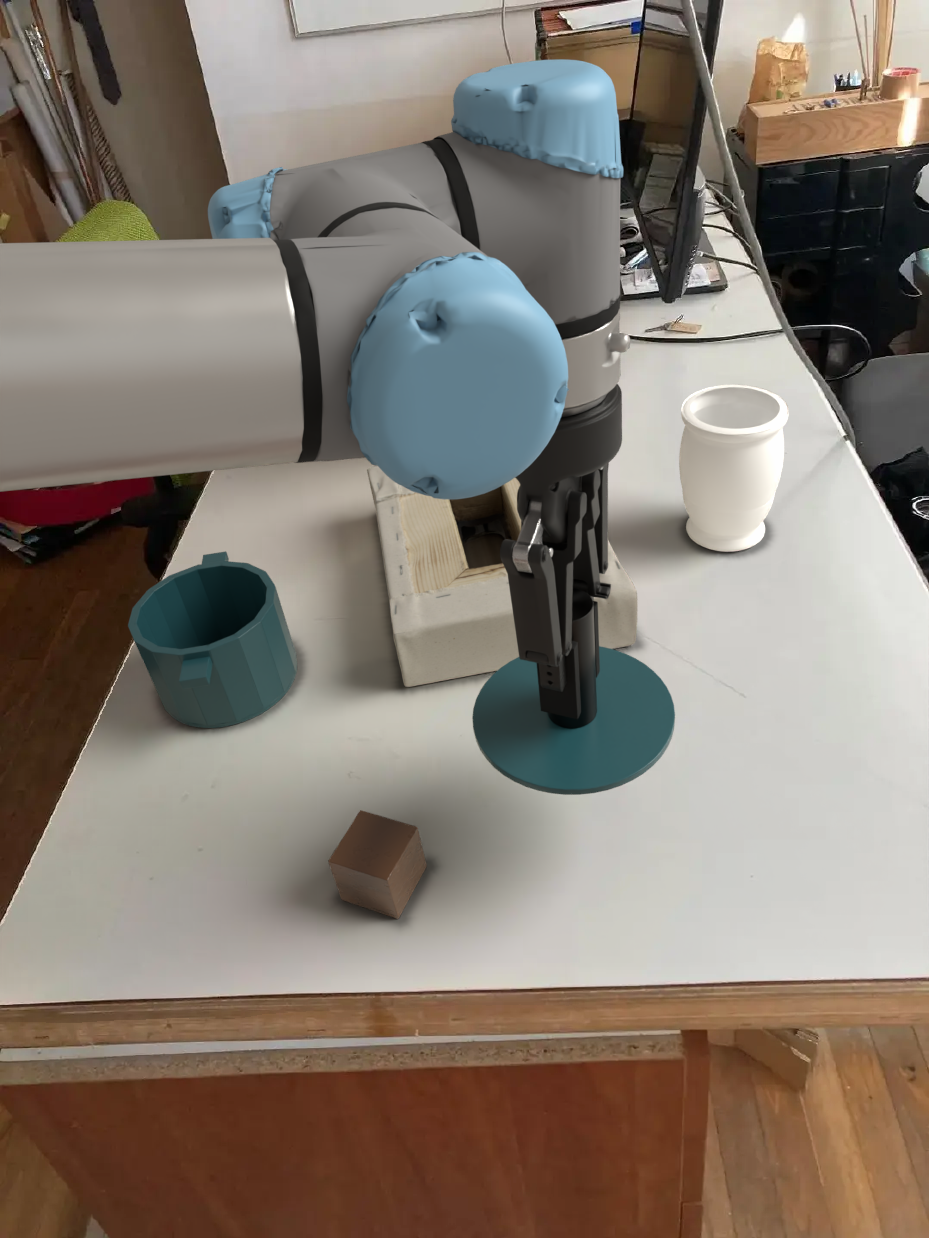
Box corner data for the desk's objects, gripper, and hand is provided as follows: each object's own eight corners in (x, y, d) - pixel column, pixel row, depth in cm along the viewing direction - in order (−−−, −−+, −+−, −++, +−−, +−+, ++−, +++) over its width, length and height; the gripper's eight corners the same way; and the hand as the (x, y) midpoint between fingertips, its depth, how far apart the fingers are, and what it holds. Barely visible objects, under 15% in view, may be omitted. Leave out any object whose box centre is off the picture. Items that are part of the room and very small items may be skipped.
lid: (487, 816, 63) (468, 698, 55) (464, 671, 74) (446, 557, 67) (700, 782, 63) (709, 660, 56) (645, 642, 74) (646, 526, 67)
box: (642, 647, 90) (560, 479, 114) (642, 584, 85) (556, 422, 109) (406, 698, 88) (374, 517, 113) (392, 638, 83) (361, 462, 108)
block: (341, 899, 71) (327, 861, 68) (371, 848, 75) (360, 809, 72) (398, 919, 70) (387, 880, 66) (427, 866, 73) (417, 826, 70)
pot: (147, 759, 85) (111, 685, 79) (175, 628, 100) (146, 557, 94) (294, 736, 85) (268, 660, 79) (300, 609, 100) (279, 536, 94)
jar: (659, 519, 105) (662, 398, 96) (741, 495, 107) (751, 374, 98) (707, 569, 97) (715, 443, 88) (794, 543, 99) (811, 416, 90)
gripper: (568, 473, 44) (584, 790, 59) (659, 329, 55) (653, 626, 70) (427, 456, 47) (476, 763, 62) (541, 322, 58) (559, 609, 73)
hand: (570, 690), depth 66 cm, fingers closed on lid, 4 cm apart
